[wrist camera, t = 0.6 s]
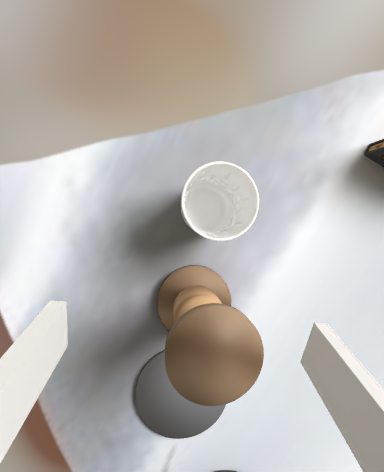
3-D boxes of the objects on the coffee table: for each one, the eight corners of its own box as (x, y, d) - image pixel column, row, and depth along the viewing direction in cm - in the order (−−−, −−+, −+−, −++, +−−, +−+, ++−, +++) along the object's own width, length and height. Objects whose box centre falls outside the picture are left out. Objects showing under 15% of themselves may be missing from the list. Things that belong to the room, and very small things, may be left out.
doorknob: (223, 337, 36) (266, 420, 20) (153, 332, 34) (144, 415, 19) (232, 269, 35) (282, 301, 20) (162, 261, 34) (159, 289, 19)
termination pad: (221, 436, 36) (222, 439, 35) (130, 433, 35) (130, 437, 34) (232, 348, 36) (233, 350, 35) (141, 342, 34) (141, 344, 34)
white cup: (176, 236, 34) (180, 240, 24) (177, 178, 34) (182, 159, 24) (231, 237, 35) (257, 241, 25) (233, 181, 35) (260, 163, 25)
